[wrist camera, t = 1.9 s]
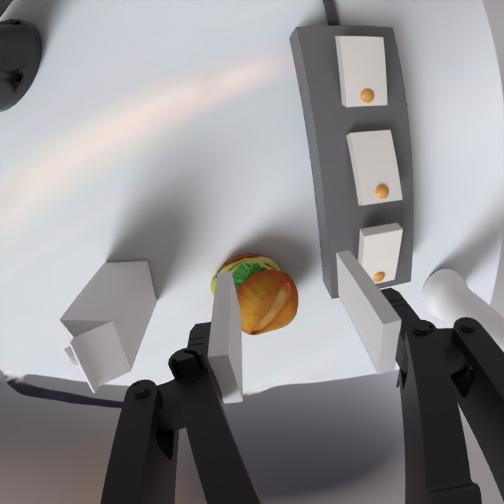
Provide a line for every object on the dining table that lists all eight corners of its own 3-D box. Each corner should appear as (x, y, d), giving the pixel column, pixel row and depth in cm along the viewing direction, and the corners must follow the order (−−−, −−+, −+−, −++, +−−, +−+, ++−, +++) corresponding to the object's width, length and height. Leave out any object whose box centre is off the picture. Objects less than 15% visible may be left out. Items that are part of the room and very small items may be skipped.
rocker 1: (335, 36, 26) (340, 36, 25) (377, 36, 26) (383, 37, 25) (341, 104, 31) (347, 107, 30) (381, 102, 31) (388, 105, 30)
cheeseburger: (209, 246, 43) (225, 281, 34) (283, 243, 46) (314, 274, 37) (208, 309, 46) (222, 352, 38) (276, 303, 49) (301, 342, 41)
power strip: (280, -2, 30) (286, -19, 24) (367, -2, 29) (384, -15, 24) (323, 280, 46) (333, 301, 40) (396, 266, 45) (413, 284, 40)
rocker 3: (359, 228, 35) (364, 237, 34) (397, 222, 35) (403, 230, 33) (356, 279, 40) (360, 287, 38) (390, 272, 40) (394, 280, 38)
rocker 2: (346, 135, 32) (350, 132, 31) (385, 132, 32) (390, 129, 31) (358, 205, 34) (363, 205, 32) (396, 199, 34) (403, 199, 32)
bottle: (420, 313, 49) (510, 442, 22) (418, 275, 46) (530, 407, 19) (455, 296, 48) (552, 409, 21) (455, 259, 45) (573, 370, 18)
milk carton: (148, 259, 43) (100, 345, 26) (157, 302, 46) (122, 395, 28) (104, 262, 43) (43, 341, 26) (115, 303, 46) (68, 390, 28)
